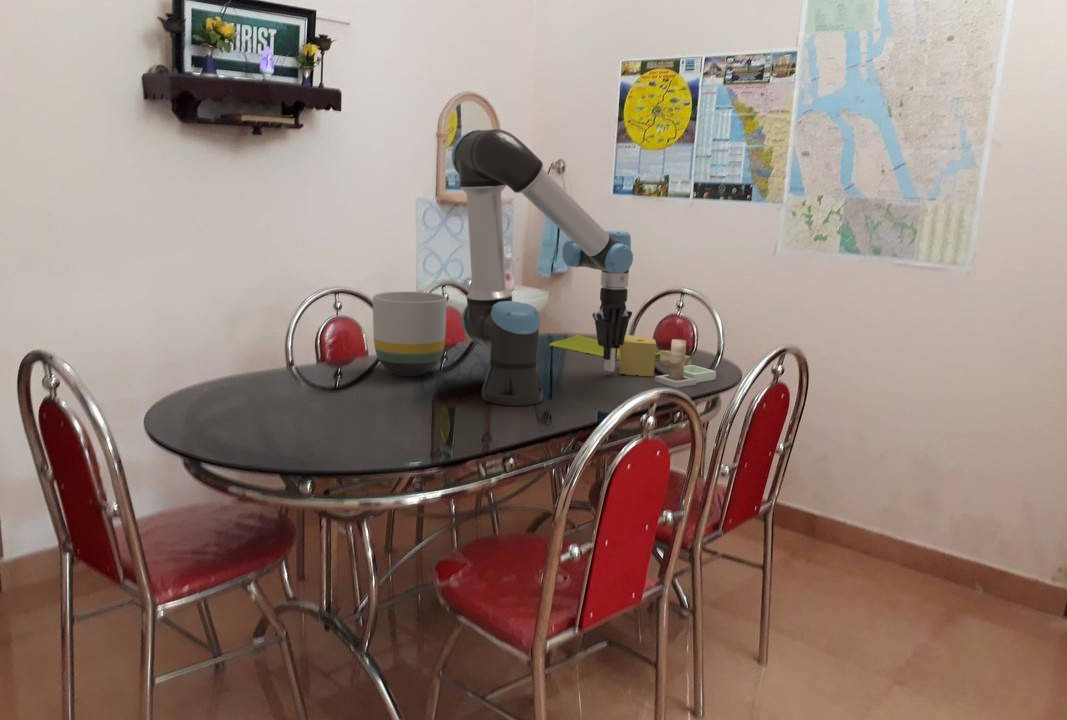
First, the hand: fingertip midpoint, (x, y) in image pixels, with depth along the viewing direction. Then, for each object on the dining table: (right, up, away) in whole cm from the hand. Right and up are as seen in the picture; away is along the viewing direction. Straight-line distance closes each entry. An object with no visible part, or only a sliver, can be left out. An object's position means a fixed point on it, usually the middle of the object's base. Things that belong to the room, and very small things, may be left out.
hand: (609, 370), depth 236 cm
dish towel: (+2, +5, +33) cm, 34 cm away
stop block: (+21, +1, +16) cm, 26 cm away
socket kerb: (+18, -3, -5) cm, 19 cm away
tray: (+24, -2, +2) cm, 24 cm away
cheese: (+8, -1, +7) cm, 11 cm away
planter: (-55, -1, -8) cm, 56 cm away
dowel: (+18, -3, -5) cm, 19 cm away
